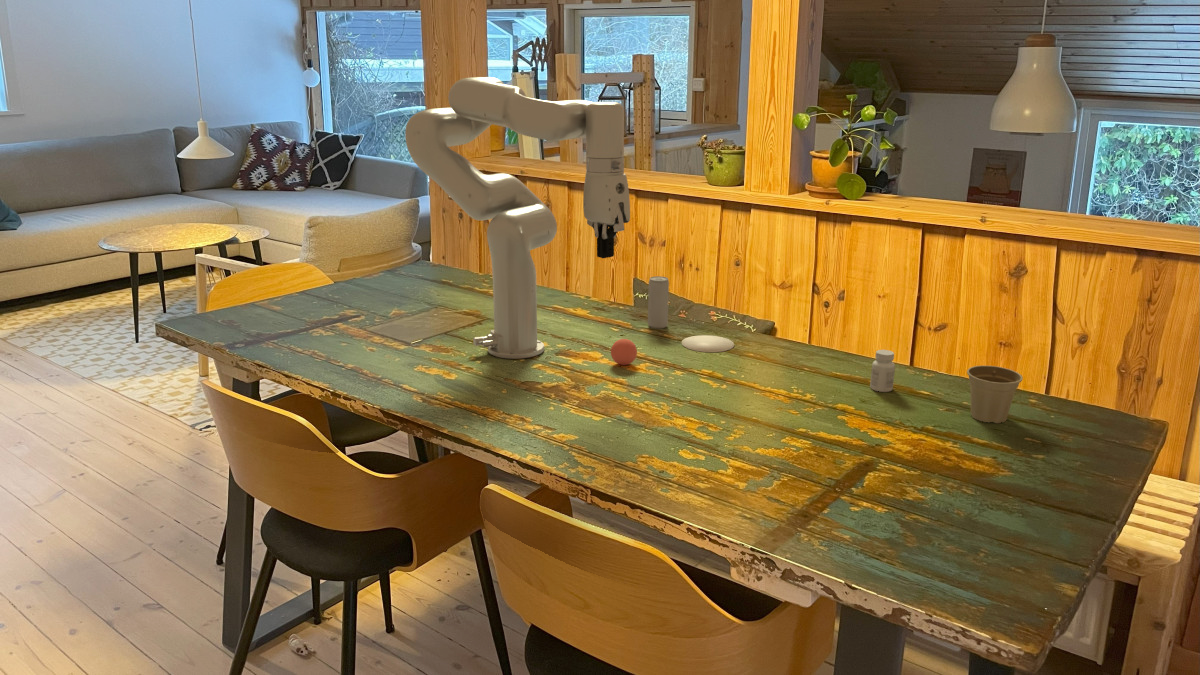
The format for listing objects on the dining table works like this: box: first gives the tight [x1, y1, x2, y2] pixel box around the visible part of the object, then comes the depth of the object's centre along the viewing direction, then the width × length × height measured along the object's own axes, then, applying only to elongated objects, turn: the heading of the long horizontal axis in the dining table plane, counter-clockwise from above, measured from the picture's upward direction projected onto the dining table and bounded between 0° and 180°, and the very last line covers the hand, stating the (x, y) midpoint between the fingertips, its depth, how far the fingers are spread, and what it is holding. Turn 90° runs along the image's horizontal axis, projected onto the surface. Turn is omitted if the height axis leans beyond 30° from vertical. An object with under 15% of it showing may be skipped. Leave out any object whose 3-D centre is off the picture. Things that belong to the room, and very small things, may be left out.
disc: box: [681, 335, 735, 353], centre depth 213 cm, size 12×12×1 cm
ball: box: [610, 338, 638, 366], centre depth 198 cm, size 6×6×6 cm
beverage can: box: [647, 275, 670, 330], centre depth 224 cm, size 5×5×12 cm
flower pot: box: [966, 365, 1024, 424], centre depth 171 cm, size 9×9×9 cm
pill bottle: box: [869, 349, 896, 393], centre depth 185 cm, size 4×4×8 cm
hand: (605, 256), depth 189 cm, fingers closed
